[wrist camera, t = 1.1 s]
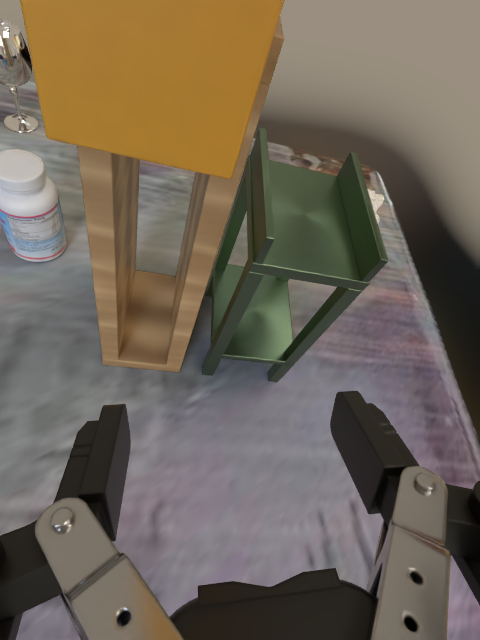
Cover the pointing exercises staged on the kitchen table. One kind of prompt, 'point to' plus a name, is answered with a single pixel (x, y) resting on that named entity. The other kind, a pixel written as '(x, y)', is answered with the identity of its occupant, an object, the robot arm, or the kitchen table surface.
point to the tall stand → (120, 251)
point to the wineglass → (15, 73)
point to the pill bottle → (30, 207)
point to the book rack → (289, 258)
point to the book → (151, 75)
